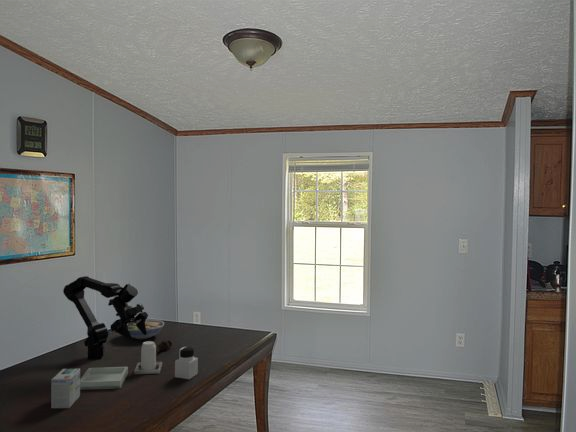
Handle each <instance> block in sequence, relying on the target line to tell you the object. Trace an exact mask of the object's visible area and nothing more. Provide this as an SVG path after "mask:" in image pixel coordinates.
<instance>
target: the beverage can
mask: <svg viewBox="0 0 576 432" xmlns="http://www.w3.org/2000/svg"><path fill="white" fill-rule="evenodd" d="M156 345H157V344H156V343H155V341H152V340H147V341H144V342H142V345H141V347H140V348H141V351H140V352H141V354H140V357H141V358H140V361H141V366H140V368H141V369H140V370H156V367H157V366H156V362H157V356H156Z"/></svg>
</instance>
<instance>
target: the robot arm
mask: <svg viewBox="0 0 576 432" xmlns="http://www.w3.org/2000/svg"><path fill="white" fill-rule="evenodd" d="M86 288H88V289H91V290H94V291H96V292H99V293H100V295H101V296H103V297H104V298H107V299H108V298H109V301H108V304H107V305H108V306H112V307H113V308H114V310H115V312H116V313H115V316H116V317H119V319H116V320H115V321H114V322H112V324H110V331H111V332H114V333H118V334H120V335H121V336H123V337H124V338H126V339H127V340H129V341H133V337H131V335H130V333H129V331H128V329H127V324H129V323H132V322H134V323H136V326H137V327H138V329H139V330H140V331H141V332H142V333H143V334H144V335H146V334H147V332H146V326H145V321H146V319H148V317H149V315H148V312H146V311H143V310H145V306H144V304H143V303H142V302H140V303H137V304H136V305H135V306H134V307H133V306H132V305H128V303H130V302H132V300H133V299H134V298H135V297H137V296H138V295H139V292H138V291H139V290H138V289H137V288H136V287H135V286H133V285H131V284H130V283H127V284H125V285H124V286H121V285H120V284H119V283H116V282H115V283H114V282H103V281H101V280H98V279H95V278H92V277H89V276H88V275H87V276H86V275H85V276H80V277H78V278H77V279H75V280H74V281H72V282H70V283H68V284H66V285H65V286H64V288H63V289H62V290H63V291H62V292H63V294H64V296H65V297H66V298H67V301H68V300H69V301H71V302H72V303H73V304H74V305H75V308H76V309H77V311H78V313H79V315H80V316H81V318H82V320H83V322H84V323H85V325H86V327H87V329H86V330H87V332H86V335H87V338H86V339H85V340H84V341H83V343H84V346H85V347H87V357H86V360H101V359H102V358H103V357H104V356H105V346H104V344H105V343H107V339H108V337H109V331H108V330H109V329H108V328H107V326H106V324H105V323H104V322H101V323H100V322H98V320H97V318H96V315H94V313H93V311H92V310H91V307H90V306H89V304H88V302H87V300H86V299H85V289H86Z"/></svg>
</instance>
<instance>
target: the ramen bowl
mask: <svg viewBox="0 0 576 432" xmlns="http://www.w3.org/2000/svg"><path fill="white" fill-rule="evenodd" d="M164 325H165V322H164V321H163V320H160V319H155V318H154V319H152V318H147V319H146V321H145V326H146V332H147V334H146V335H144V334H143V333H142V332H141V331H140V330H139V329H138V327H137V326H136V323H134V322H132V323H129V324H127V329H128V331H129V333H130V335H131V337H132V338H134V339H137V340H147V339H150V338H151V337H154V336H156V335H157V334H159V333H160V332H161V331H162V330H163V327H164Z"/></svg>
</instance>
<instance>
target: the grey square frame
mask: <svg viewBox="0 0 576 432" xmlns="http://www.w3.org/2000/svg"><path fill="white" fill-rule="evenodd" d="M157 366H158V368H157V369H154V370H142V369H140V368H141V362H140V361H139V362H137V363H136V367H134V369H133V375H151V374H152V375H153V374H161V373H160V372H161V370H162V366H163V361H156V367H157Z"/></svg>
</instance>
